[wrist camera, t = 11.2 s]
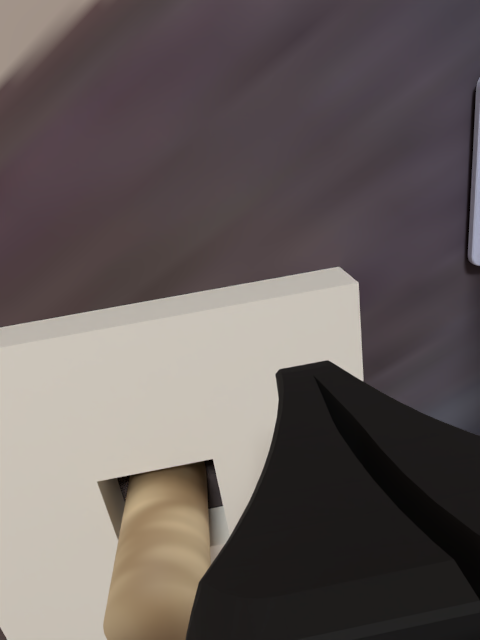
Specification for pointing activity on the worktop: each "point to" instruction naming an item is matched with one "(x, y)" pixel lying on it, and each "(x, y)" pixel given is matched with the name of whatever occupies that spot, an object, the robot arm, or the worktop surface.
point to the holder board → (142, 425)
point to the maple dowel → (159, 554)
